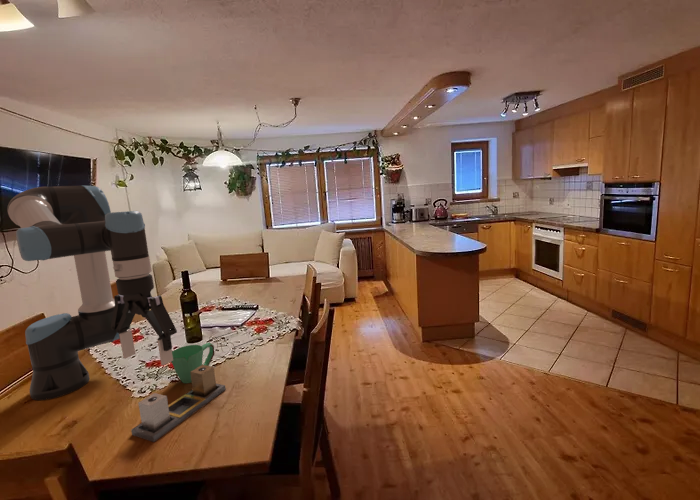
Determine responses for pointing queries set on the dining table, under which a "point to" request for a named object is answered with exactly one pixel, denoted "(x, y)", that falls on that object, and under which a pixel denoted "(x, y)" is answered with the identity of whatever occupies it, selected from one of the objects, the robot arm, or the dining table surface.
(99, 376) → the dining table surface
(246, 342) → the eyeglasses
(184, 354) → the mug
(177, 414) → the grey slotted tray
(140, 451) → the dining table surface
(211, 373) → the brown rectangular block
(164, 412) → the white rectangular block
